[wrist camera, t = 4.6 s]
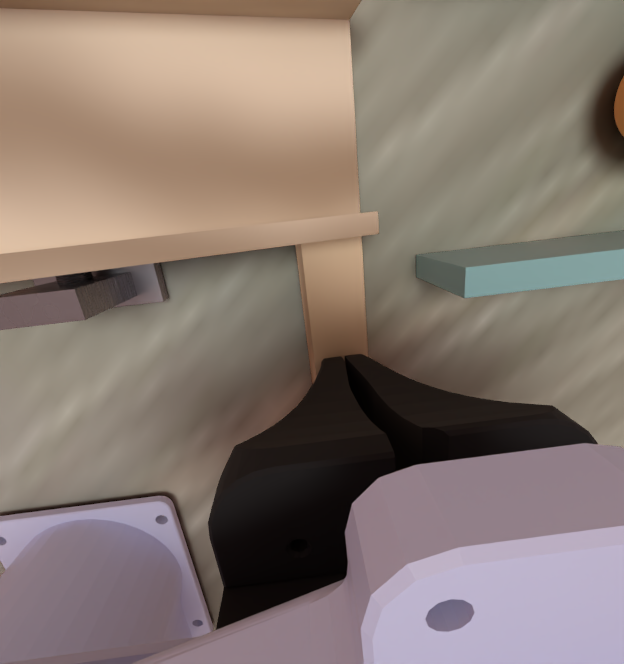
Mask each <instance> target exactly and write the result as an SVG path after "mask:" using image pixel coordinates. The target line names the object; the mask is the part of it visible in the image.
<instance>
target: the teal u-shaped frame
mask: <svg viewBox="0 0 624 664" xmlns="http://www.w3.org/2000/svg"><path fill="white" fill-rule="evenodd" d="M416 277H417V278H420V279H422V280H424V281H426V282H429V283H431V284H433V285H436V286H438V287H440V288H442V289H445V290H447V291H449V292H452V293H454V294H456V295H458V296H461V297H463V298H470V297H478V296H486V295H495V294H503V293H511V292H520V291H528V290H536V289H545V288H553V287H561V286H570V285H578V284H586V283H595V282H603V281H611V280H620V279H624V230H623V231H615V232H606V233H598V234H589V235H581V236H572V237H564V238H555V239H547V240H538V241H530V242H521V243H513V244H504V245H496V246H487V247H479V248H470V249H462V250H453V251H445V252H436V253H428V254H419V255H416Z"/></svg>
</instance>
